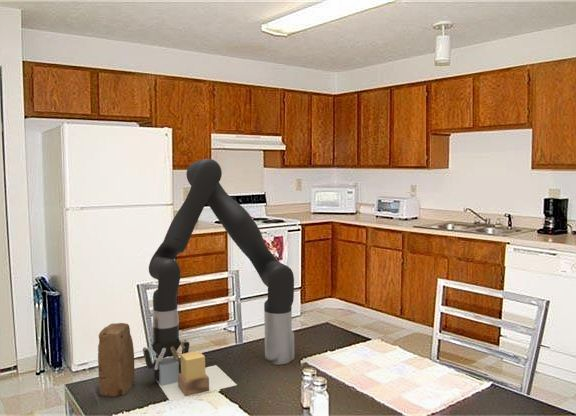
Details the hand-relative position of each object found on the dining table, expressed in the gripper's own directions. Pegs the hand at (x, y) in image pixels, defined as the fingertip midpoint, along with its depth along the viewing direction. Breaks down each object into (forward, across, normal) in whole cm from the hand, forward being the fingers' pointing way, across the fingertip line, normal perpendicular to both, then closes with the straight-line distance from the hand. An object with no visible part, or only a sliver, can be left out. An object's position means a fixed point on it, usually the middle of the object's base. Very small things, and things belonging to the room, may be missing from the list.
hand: (167, 377), depth 150 cm
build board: (+2, -7, +5) cm, 9 cm away
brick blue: (+1, 0, 0) cm, 1 cm away
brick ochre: (-3, -5, +10) cm, 11 cm away
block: (+2, +14, -2) cm, 14 cm away
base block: (+1, -5, +10) cm, 11 cm away
